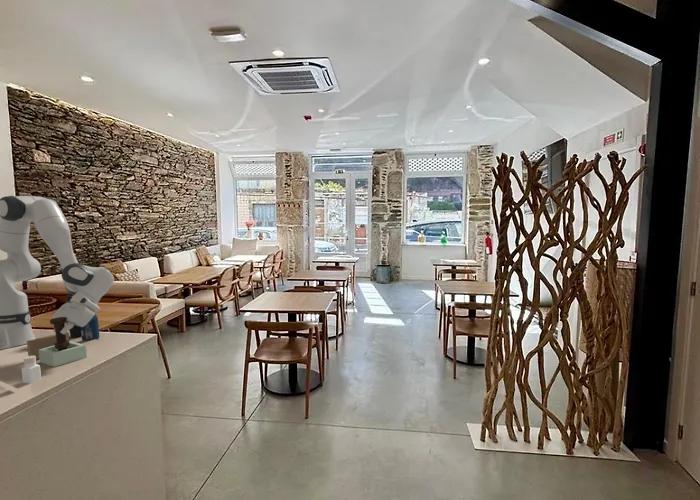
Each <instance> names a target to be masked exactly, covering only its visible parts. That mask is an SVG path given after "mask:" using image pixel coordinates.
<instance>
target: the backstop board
mask: <svg viewBox="0 0 700 500" xmlns="http://www.w3.org/2000/svg"><path fill="white" fill-rule="evenodd" d="M66 340H67V341H69V342H70V341H71V340H70V331H67V332H66ZM55 343H57V339H56V334H55V333H54V334H50V335H45V336H41V337H39V338H36V339H34V340H29V341H27V344H26V347H27V357H28V356H36V361H38V360H39V349H43V348H46V347H50V346H54V345H55Z"/></svg>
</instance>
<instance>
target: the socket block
mask: <svg viewBox="0 0 700 500" xmlns="http://www.w3.org/2000/svg"><path fill="white" fill-rule="evenodd" d="M69 341H70V342H69V344H70V345H69V346H68V349H66V350H62V351H58V349H56V348H55V345H54V346H50V347H46V348H43V349H39V359H38V360H39V362H40V363H41V364H43V365H48V366H50V367H52V368H55V367H58V366H63V365H65V364H69V363H73V362H76V361H79V360H82V359H85V358H88V357H87V356H88V355H87V345H86V344H82V343H79V342H76V341H72V340H69Z"/></svg>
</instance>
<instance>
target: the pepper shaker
mask: <svg viewBox="0 0 700 500" xmlns="http://www.w3.org/2000/svg"><path fill="white" fill-rule="evenodd" d="M23 364H24V366H23V367H21V369H20V370H21V371H20V372H21V378H22V379H21V380H22V383H23V384H34V383H36V382H38V381H41V380H42V373H41V366H40V364H37V360H36V356H28V355H27V356H25V357H23Z"/></svg>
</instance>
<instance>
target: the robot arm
mask: <svg viewBox="0 0 700 500" xmlns="http://www.w3.org/2000/svg"><path fill="white" fill-rule="evenodd" d="M32 222H33V224H34V227H35V230H36V231H37V233H38V234H39V236H40V237H41V238H42V241H44V242H45V244H46V245H47V246H48V247H49V249H50V250H51V252H52V253H53V254H54V255H55V257H56V259H57V260H58V263H59V265H60V267H61V270H62V271H61V275H60V276H61V279H62V281H63V285H64V288H65V290H66V292H67V293H69V295H72V294H73V295H74V296H73V297H72V299H71V300H70V302H69V303H67V302H66V303H64V304H62V305H61V306H60V307H59V308H58V309H57V310H56V311H55V312H54V313H53V315H52V319H54V318H58V317H66V318H67V320H66V321H67V322H64V324H65V326H64V328H62V329H61V330H60V331H59V332H60V333H61V334H65V333H66V332H69V330H70V329H71V328H72V327H73V326H74V325H76V326H80V327H84V326H85V325H86V324H87V323H88V322H89V321H90V320H91V319H92V318H93V316H94V315H95V314H96V313H99V311H100V310H101V308H100V307H99V305H98V303H99V302H100V300H101V299H102V297H104V296H105V295H106V294H107V292H108V291H109V290H110V288H111V287H112V285H113V284H114V282H115V276H114V274H113V273H112V272H111V271H110V270H109V269H107V268H106V267H103V266H99V267H96V266H89V265H85V264H82V263H79V261H78V260H77V257H76V255H75V252H74V250H73V243H72V235H71V231H70V226H69V223H68V220H67V218H66V217H65V214H64V213H63V212H62V210H61V208H60V207H59V204H58V202H57V201H56V200H55V199H54V198H51V197H47V196H36V195H19V196H18V195H15V196H14V195H6V196H3V197H1V198H0V251H1V252H4V253H6V254H7V258H5V259H0V350H6V349H9V348H13V347H17V346H23V345H27V341H29V340H34V339H37V337H35V334H34V331H33V329H32V325H31V320H32V319H31V312H30V311H31V310H29V301H28V295H27V294H26V292H23V291H21V290H18V289H17V288H15V286H14V283H18V282H19V283H20V282H24V281H29V280H31V279H34V278H37V277H38V276H39V275H40V274H41V271H42V267H41V266H42V265H41V263H40V262H39V260H37V259H36V258H34V257H33V256H32V254H31V252H30V248H29V240H30V232H31V231H30V229H31V223H32ZM52 331H53V332H55V328H54V327H53V330H52Z"/></svg>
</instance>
